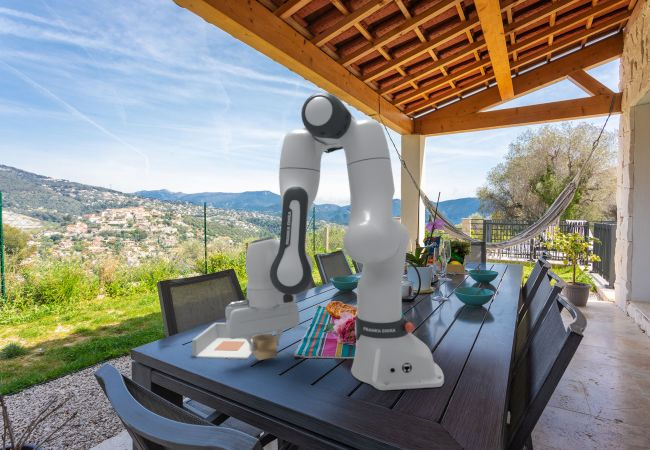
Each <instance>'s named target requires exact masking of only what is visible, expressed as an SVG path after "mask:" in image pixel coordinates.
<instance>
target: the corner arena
mask: <svg viewBox="0 0 650 450" xmlns="http://www.w3.org/2000/svg"><path fill="white" fill-rule="evenodd" d="M261 334H264V333H261ZM261 334H256V335H261ZM256 335H253V336H256ZM251 341H252V339H251ZM252 343H253V342H252ZM191 346H192V347H191V348H192V351H191V352H192V354H191V355H192V356H191V357H192V358H204V359H205V358H208V359H209V358H212V359H235V360H237V359H240V360H242V359H244V360H248V359H249V358H250V356H252V355H253V352H251V351H250V347H249V343H248V342H247V340H246V339H245V337H241V338H236V339H231V338H229V337H228V336H227V335H226V322H214V323H212V324H211V325H210V326H208V327H207V328H205V330H203V331H202V332H200V333H199V334H198V335H197V336H195V337H194V338H193V339H191Z"/></svg>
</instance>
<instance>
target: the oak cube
mask: <svg viewBox="0 0 650 450" xmlns="http://www.w3.org/2000/svg"><path fill="white" fill-rule="evenodd" d="M275 336H276V335H273V334H271V333H270V332H267V333H263V334H261V335H256V336H253V339H252V342H253V343H255V344H257V351H253V353H252V355H253V356H254V357H255V358H256V359H257V360H258V361H262V360H267V359H271V358H275V357H278V346H277V338H276V337H275Z"/></svg>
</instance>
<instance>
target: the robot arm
mask: <svg viewBox="0 0 650 450" xmlns="http://www.w3.org/2000/svg"><path fill="white" fill-rule="evenodd" d="M303 103H304V104H303V105H302V108H301V121H302V124H303V126H304V127H303V128H296V129H292V130H290V131H289V132H287V134H285V136H284V139H283V142H282V146H281V147H282V148H281V150H280V151H281V153H280V159H279V160H280V161H279V170H278V171H279V172H278V181H279V183H278V185H279V186H278V187H279V193H280V195H279V197H280V203H281V223H280V224H281V225H280V237H279V238H280V239H279V240H278V239H276V237H272V236H271V237H270V236H269V237H266V238H265V237H264V238H259V239H256V240H252V241H251V242H250V243H249V244H248V246H247V248H246V255H245V272H246V276H247V283H246V299H244V300H240V301H239V300H238V301H231V302H230V303H229V304H228V305H226V307H225V310H224V314H225V319H226V320H225V321H226V322H225V323H226V335H227V336H228V337H229V338H231V339H236V338H241V337H245V339H246V340H247V342H248V343H249V347H250V351H251V352H253V351H257V344H255V343H252V341H251V339H253V335H256V334H261V333H263V334H266V333H270V332H274V333H276V334H275V335H274V336H275V337H276V338H277V347H279V346H280V340H281V337H282V335H283V332H284V330H285V329H290V328H291V329H292V328H296V327H299V324H300V321H301V319H300V307H299V305H298V303H297V302H296V301H297V294H300V293H301V292H303V291H305V290H306V289H307V288H308V287H309V285H310V283H311V281H312V275H313V274H312V273H313V269H314V262H313V259H312V257H311V256H310V254H309V253H307V252H306V243H307V242H306V241H307V227H308V226H307V225H308V217H309V214H310V210H311V207H312V206H313V203H314V202H315V200H316V197H317V195H318V191H319V188H320V182H321V181H320V179H321V166H322V165H321V163H322V157H323V154H324V153H325V154H330V153H333V152H336V151H340V150H343V151H344V156H345V162H346V168H347V169H346V171H347V179H348V187H349V193H350V194H349V195H350V196H349V197H350V201H349V204H350V207H349V216H348V225H347V229H346V230H345V232H344V236H343V249H344V251H345V253H346V255H347V256H348V257H349V258H350V259H351V260H352V261H353V262H355V263H358V264H363V266H362V270H361V275H360V277H359V280H358V282H357V288H356V292H357V293H356V308H357V309H356V311H357V312H356V313H357V314H356V315H355V320H354V335H355V340H356V343H355V353H354V358H353V362H352V365H351V369H350V372H351V374H352V376H353V377H354V378H355V379H357V380H358V381H360V382H363V383H366V384H369V385H370V386H371V387H372V386H373V387H374V388H375V389H376V390H379V391H391V390H392V391H393V390H407V389H408V390H411V389H423V388H424V389H425V388H439V387H443V384H444V383H445V376H444V372H443V370H442V369H441V367H440V366H439V365H438V364H437V363H436V362H434V357H433V353H432V352H431V350H430V348H429V347H428V346H427V344H425V343H424V342H423V341H422V340H420V339H419V337H417V336H415V335H414V334H413V332H414V331H415V326H414V324H413V323H412V322H411V321H410V319H408V318H407V317H406V316H402V314H403V313H402V310H403V309H402V308H403V307H402V305H403V304H402V303H403V302H402V300H403V298H402V297H403V296H402V295H403V294H402V293H403V292H402V289H403V279H404V273H405V266H406V259H407V257H406V256H407V249H408V246H409V241H410V235H409V234H410V233H409V231H408V229H407V228H406V226H405V225H404V224H403V223H402V222H400V221H399V220H397V219H395V218H393V200H394V199H393V198H394V195H395V191H396V190H395V182H394V176H393V167H392V161H391V154H390V149H389V145H388V141H387V138H386V133H385V132H384V129H383V126H382V124H381V123H380V122H378V121H377V120H374V119H371V118H363V119H355V117H354V116H353V115H352V113H351V112H350V111H351V110H349V108H348V107H347V106H346V105H345V104H344V102H342V101H341V99H339V98H338V97H337V96H335V95H334V94H332V93H329V92H323V91H322V92H320V91H319V92H317V93H314V94H312V95H310V96H309V97H308V98H307V99H306V100H305V101H304V102H303Z"/></svg>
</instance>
